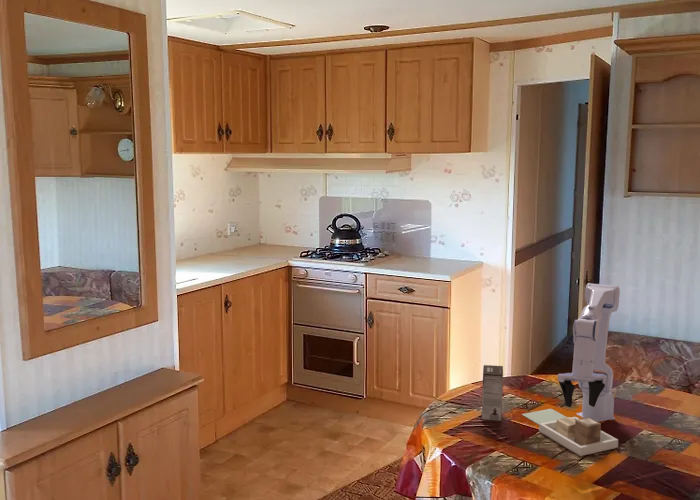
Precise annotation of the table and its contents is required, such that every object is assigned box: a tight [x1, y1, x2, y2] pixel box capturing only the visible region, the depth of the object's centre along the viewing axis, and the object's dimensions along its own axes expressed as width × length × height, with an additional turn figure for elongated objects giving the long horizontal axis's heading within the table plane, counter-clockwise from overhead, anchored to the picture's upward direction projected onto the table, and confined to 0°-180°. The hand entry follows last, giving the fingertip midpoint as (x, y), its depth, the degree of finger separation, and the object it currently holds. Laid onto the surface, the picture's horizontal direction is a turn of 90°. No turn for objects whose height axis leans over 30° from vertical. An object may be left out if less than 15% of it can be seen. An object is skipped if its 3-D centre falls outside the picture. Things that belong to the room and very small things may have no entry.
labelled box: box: [574, 418, 602, 446], centre depth 194 cm, size 5×5×7 cm
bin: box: [538, 416, 619, 457], centre depth 198 cm, size 14×18×3 cm
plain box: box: [556, 416, 576, 438], centre depth 201 cm, size 5×5×4 cm
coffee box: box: [481, 364, 504, 422], centre depth 215 cm, size 9×6×16 cm
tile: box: [521, 408, 568, 426], centre depth 213 cm, size 12×12×1 cm
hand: (580, 405), depth 192 cm, fingers open, 7 cm apart
